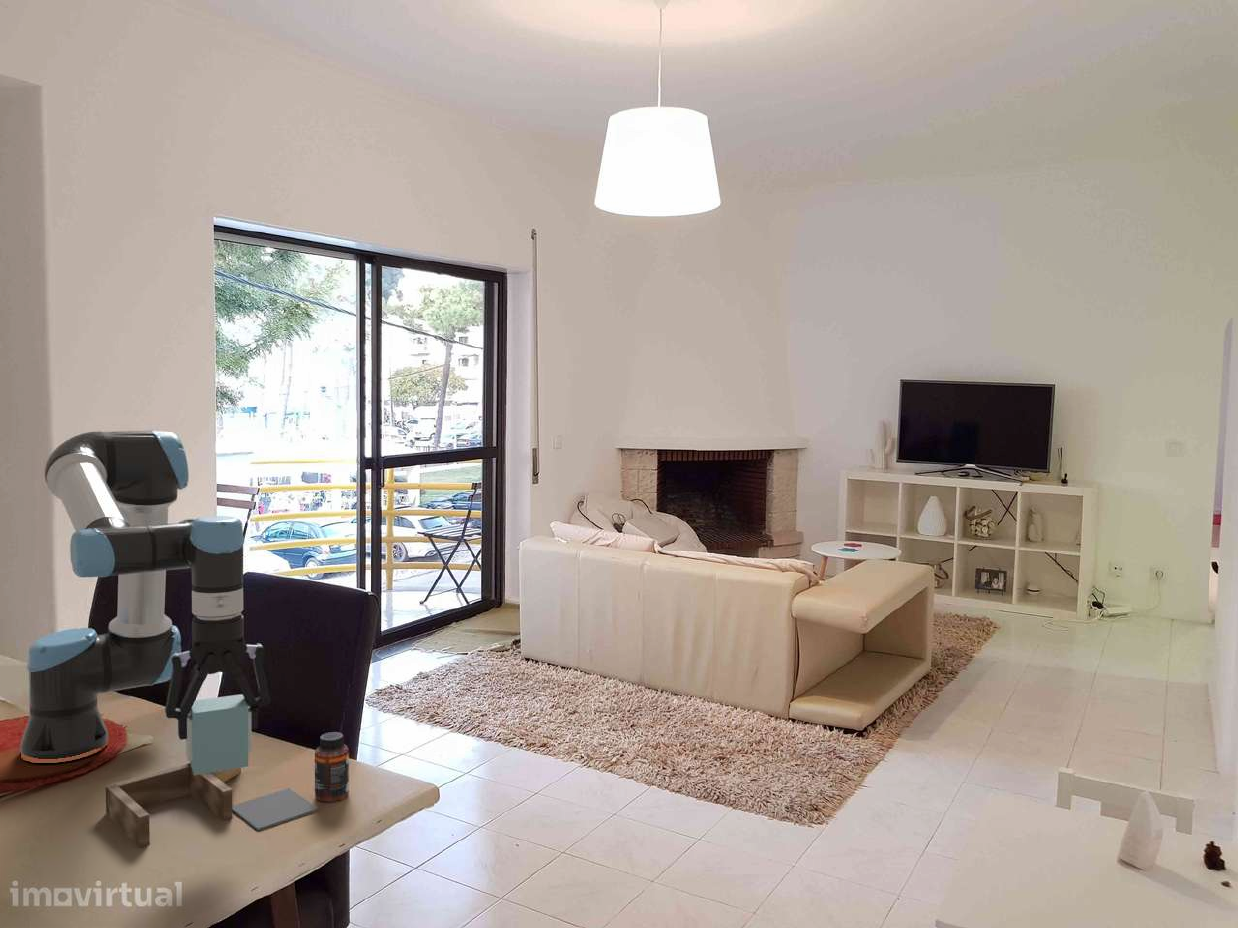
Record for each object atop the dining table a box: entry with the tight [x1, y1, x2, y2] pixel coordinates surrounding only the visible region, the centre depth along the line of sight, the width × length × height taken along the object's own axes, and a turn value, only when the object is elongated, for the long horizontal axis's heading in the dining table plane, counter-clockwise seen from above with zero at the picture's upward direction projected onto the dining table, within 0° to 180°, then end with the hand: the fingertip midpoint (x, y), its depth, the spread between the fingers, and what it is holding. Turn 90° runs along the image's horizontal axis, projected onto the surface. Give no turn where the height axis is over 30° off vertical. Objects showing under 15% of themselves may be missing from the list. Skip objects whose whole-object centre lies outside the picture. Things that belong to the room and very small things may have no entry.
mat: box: [232, 787, 320, 831], centre depth 164 cm, size 11×11×1 cm
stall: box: [105, 762, 233, 848], centre depth 160 cm, size 16×15×5 cm
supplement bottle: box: [314, 731, 350, 803], centre depth 169 cm, size 6×6×11 cm
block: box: [189, 693, 249, 775], centre depth 150 cm, size 6×8×10 cm
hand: (219, 752), depth 151 cm, fingers closed on block, 8 cm apart
